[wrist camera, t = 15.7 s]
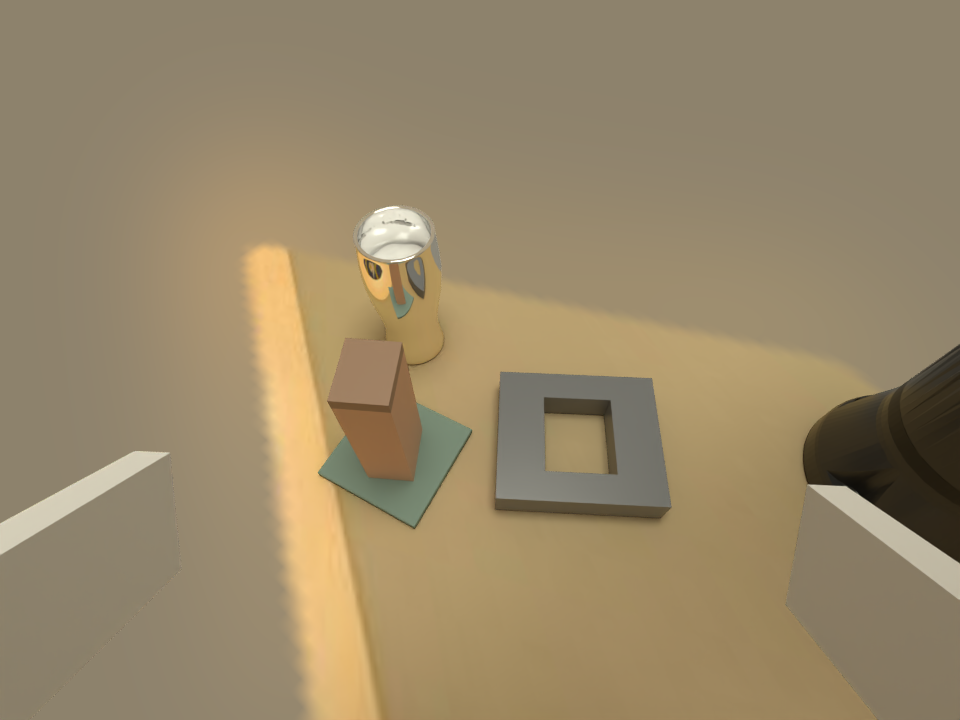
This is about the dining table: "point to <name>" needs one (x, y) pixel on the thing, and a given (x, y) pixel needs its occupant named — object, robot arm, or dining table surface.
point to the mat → (401, 496)
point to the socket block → (629, 440)
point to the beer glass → (402, 277)
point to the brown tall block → (377, 407)
